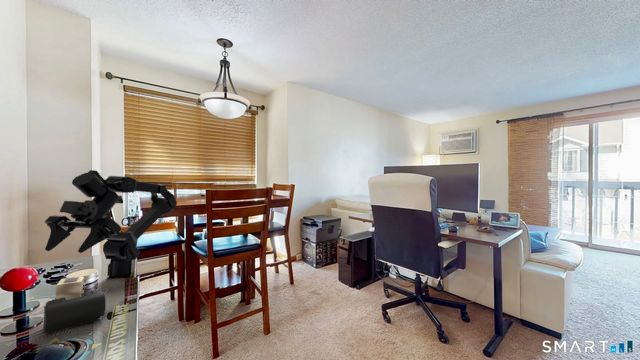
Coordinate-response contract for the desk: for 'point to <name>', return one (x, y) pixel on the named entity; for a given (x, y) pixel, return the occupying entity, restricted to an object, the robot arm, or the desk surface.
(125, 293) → the desk surface
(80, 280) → the beech block
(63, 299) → the end cap
